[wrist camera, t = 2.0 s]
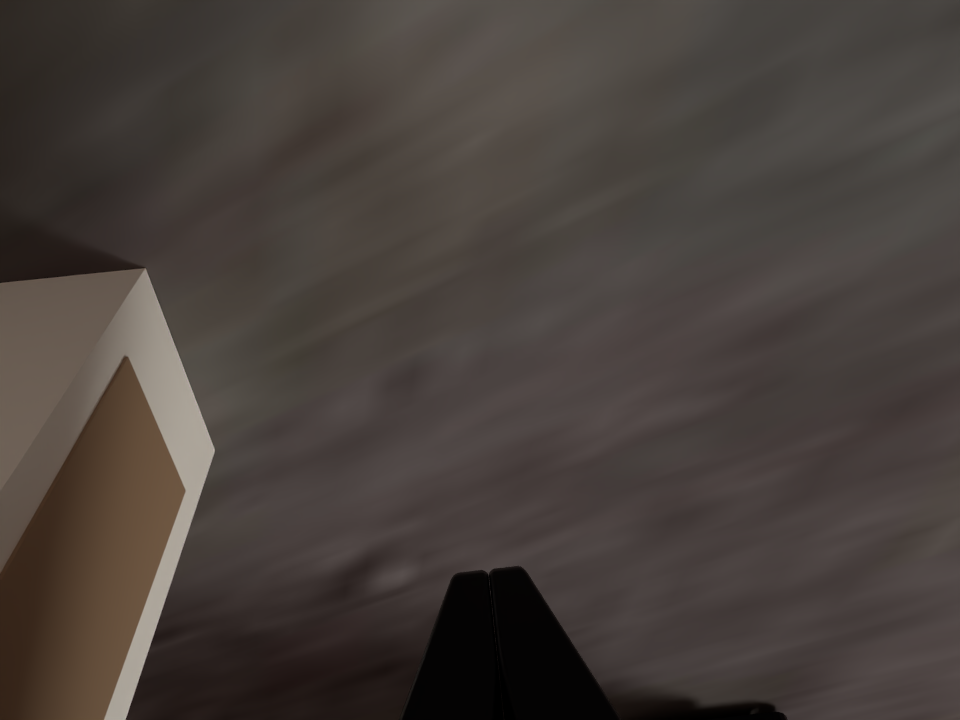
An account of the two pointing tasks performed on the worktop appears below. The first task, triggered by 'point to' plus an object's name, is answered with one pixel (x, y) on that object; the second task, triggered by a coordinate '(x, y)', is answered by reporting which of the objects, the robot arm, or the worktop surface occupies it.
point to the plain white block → (89, 489)
